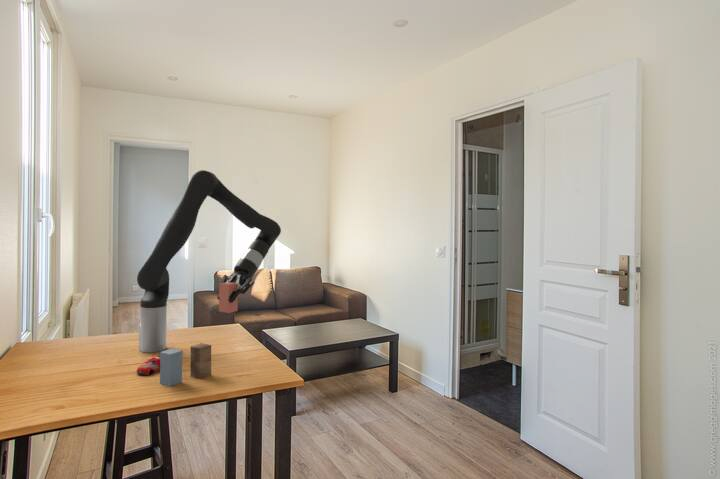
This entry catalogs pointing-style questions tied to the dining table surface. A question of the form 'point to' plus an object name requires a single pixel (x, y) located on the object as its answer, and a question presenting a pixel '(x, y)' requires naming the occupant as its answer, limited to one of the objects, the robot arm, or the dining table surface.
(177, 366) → the slate block
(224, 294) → the red block
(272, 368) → the dining table surface
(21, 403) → the dining table surface
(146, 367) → the race car
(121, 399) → the dining table surface
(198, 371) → the walnut block
